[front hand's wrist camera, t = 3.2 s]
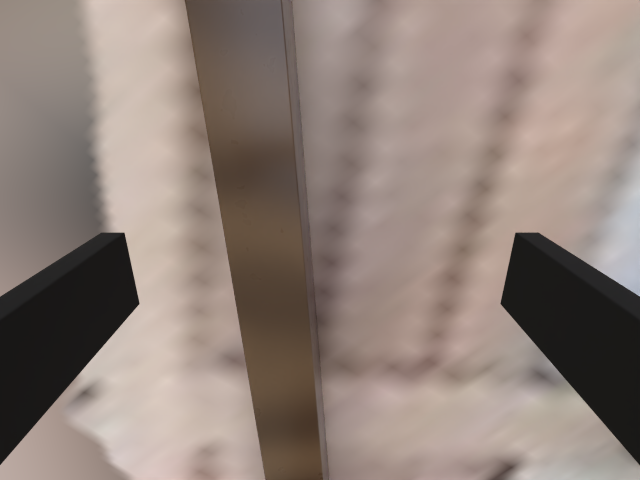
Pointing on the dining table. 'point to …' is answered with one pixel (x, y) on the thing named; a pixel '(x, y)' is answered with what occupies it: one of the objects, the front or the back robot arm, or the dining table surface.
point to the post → (265, 219)
